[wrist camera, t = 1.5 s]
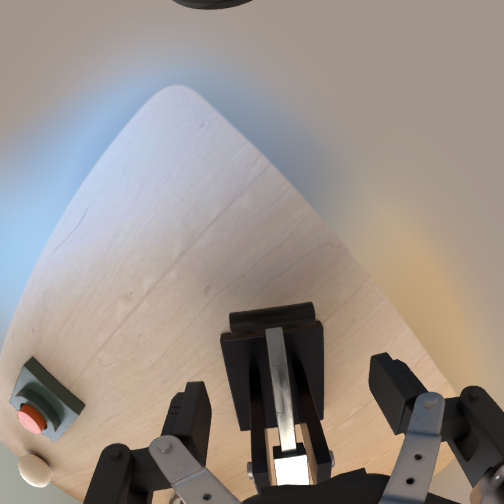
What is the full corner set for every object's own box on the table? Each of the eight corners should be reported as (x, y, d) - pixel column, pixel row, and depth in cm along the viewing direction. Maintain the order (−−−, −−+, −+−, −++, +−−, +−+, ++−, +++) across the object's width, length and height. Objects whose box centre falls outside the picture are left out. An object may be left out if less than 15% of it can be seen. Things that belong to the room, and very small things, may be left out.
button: (25, 399, 24) (19, 406, 22) (49, 420, 24) (43, 429, 22) (20, 410, 24) (14, 417, 22) (43, 430, 25) (37, 438, 23)
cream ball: (21, 441, 31) (7, 463, 24) (52, 460, 31) (39, 483, 25) (29, 458, 32) (16, 478, 26) (58, 475, 33) (46, 497, 26)
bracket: (220, 333, 25) (205, 441, 13) (319, 320, 25) (370, 417, 13) (240, 423, 28) (240, 519, 16) (321, 412, 28) (349, 503, 16)
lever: (231, 313, 20) (227, 311, 18) (308, 303, 20) (314, 299, 18) (254, 477, 17) (253, 492, 14) (326, 467, 17) (333, 480, 14)
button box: (32, 356, 26) (15, 372, 22) (85, 404, 28) (73, 424, 24) (15, 394, 28) (3, 409, 24) (60, 434, 29) (50, 450, 25)
